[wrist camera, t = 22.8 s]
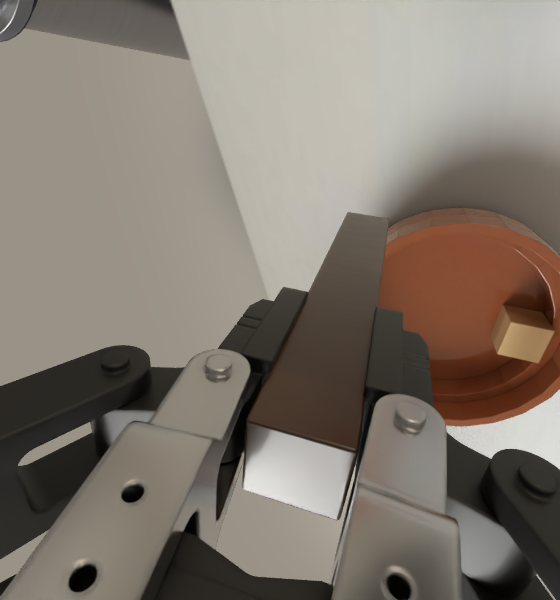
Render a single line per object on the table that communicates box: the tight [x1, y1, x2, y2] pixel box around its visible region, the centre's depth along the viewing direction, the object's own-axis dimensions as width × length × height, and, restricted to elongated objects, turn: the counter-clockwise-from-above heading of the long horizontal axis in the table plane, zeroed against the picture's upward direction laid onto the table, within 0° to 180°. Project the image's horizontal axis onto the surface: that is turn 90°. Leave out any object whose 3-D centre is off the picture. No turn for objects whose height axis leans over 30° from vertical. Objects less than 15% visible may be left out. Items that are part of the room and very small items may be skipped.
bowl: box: [378, 207, 560, 426], centre depth 31 cm, size 17×17×5 cm
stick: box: [242, 212, 389, 520], centre depth 13 cm, size 2×2×14 cm
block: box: [490, 305, 555, 363], centre depth 30 cm, size 3×3×3 cm
